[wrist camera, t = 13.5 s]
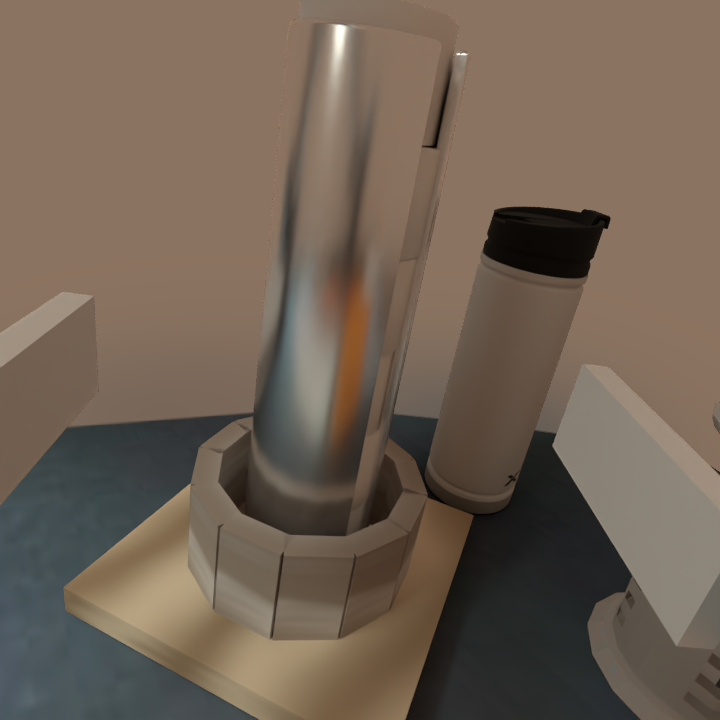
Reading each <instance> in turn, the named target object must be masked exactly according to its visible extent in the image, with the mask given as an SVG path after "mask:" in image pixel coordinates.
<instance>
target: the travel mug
mask: <svg viewBox="0 0 720 720" xmlns="http://www.w3.org/2000/svg"><path fill="white" fill-rule="evenodd" d="M609 222H610V217H609V216H607V215H604V214H602V213H599V212H596V211H592V210H586V209H584V210H583V211H582V212H581V213H580V212H575V211H569V210H561V209H553V208H541V207H506V208H500V209H497V210H495V211H494V214H493V217H492V220H491V223H490V226H489V229H488V233H487V234H488V239H487V240H486V241H485V244H484V248H483V250H482V252H481V262H480V263H479V264H478V268H477V272H476V276H475V279H474V283H473V287H472V291H471V295H470V299H469V303H468V306H467V310H466V314H465V319H464V322H463V326H462V330H461V334H460V338H459V341H458V345H457V349H456V353H455V357H454V361H453V365H452V368H451V372H450V376H449V380H448V384H447V388H446V392H445V396H444V399H443V404H442V408H441V411H440V415H439V419H438V423H437V427H436V430H435V434H434V438H433V442H432V446H431V450H430V456H429V458H428V461H427V465H426V469H425V480H426V483H427V485H428V487H429V489H430V490H431V491H432V492H433V494H434V495H436V496H437V497H438V498H439V499H440V500H442V501H443V502H445V503H446V504H448V505H450V506H452V507H454V508H456V509H459V510H462V511H465V512H469V513H476V514H490V513H495V512H497V511H500V510H502V509H503V508H505V507H506V506H507V505H508V503H509V502H510V499H511V496H512V493H513V490H514V487H515V484H516V482H517V479H518V476H519V473H520V470H521V467H522V465H523V462H524V459H525V456H526V453H527V450H528V447H529V444H530V442H531V439H532V436H533V433H534V430H535V427H536V424H537V421H538V419H539V416H540V413H541V410H542V407H543V404H544V401H545V398H546V395H547V393H548V390H549V387H550V384H551V381H552V378H553V375H554V373H555V370H556V367H557V364H558V361H559V358H560V355H561V352H562V350H563V347H564V344H565V341H566V338H567V335H568V332H569V329H570V327H571V324H572V321H573V318H574V315H575V312H576V309H577V306H578V304H579V300H580V298H581V295H582V292H583V286H582V285H583V284H585V283H586V280H587V278H588V271H589V269H590V260H591V259H592V258H593V257H594V254H595V251H596V249H597V245H598V243H599V240H600V237H601V234H602V231H603V228H605V229H608V226H609Z"/></svg>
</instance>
